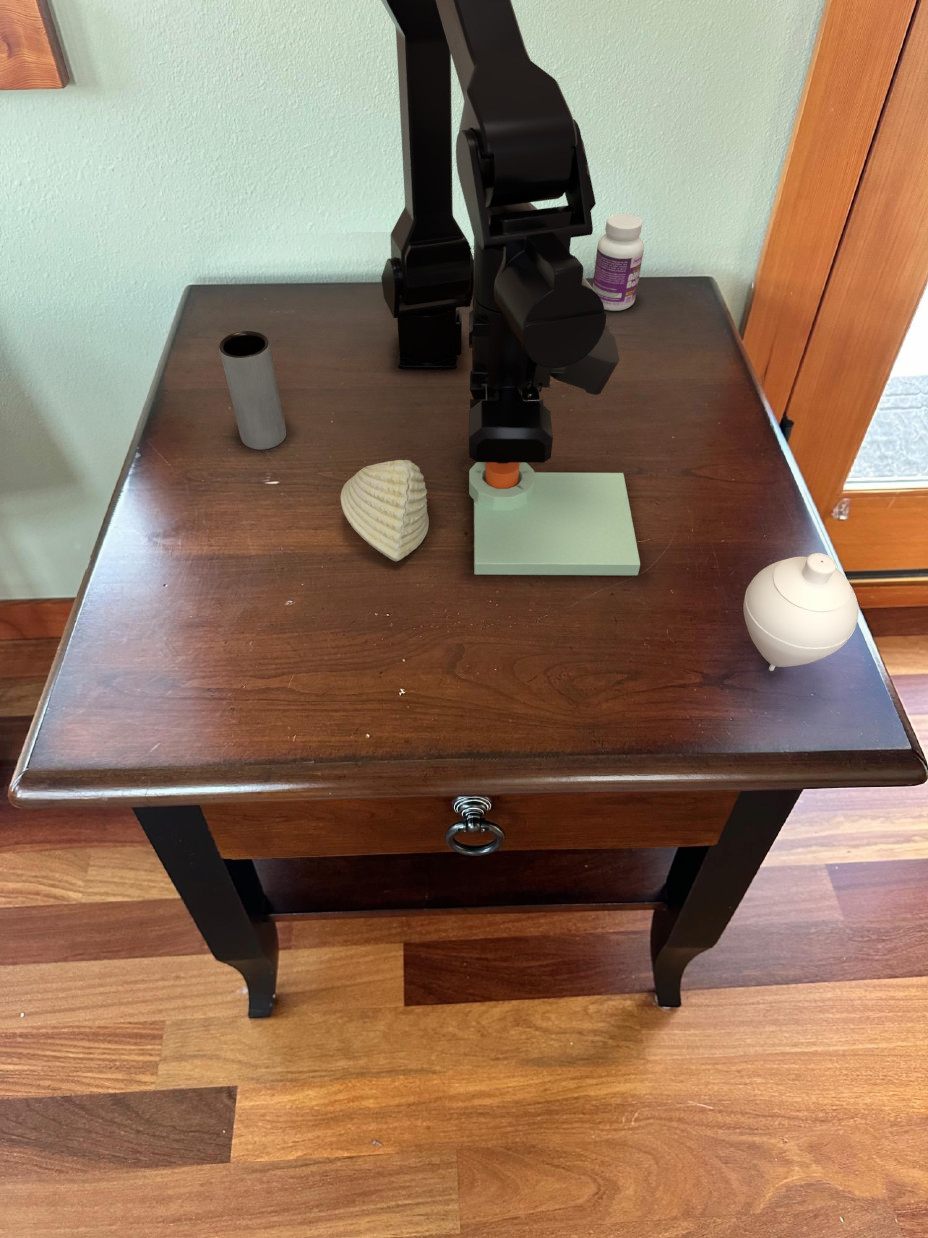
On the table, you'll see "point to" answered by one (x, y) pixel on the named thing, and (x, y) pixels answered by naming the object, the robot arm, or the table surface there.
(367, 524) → the seashell
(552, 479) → the pale green base plate
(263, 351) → the grey cylindrical tube
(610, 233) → the pill bottle
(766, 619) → the spinning top
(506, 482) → the button
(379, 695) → the table surface
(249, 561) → the table surface
